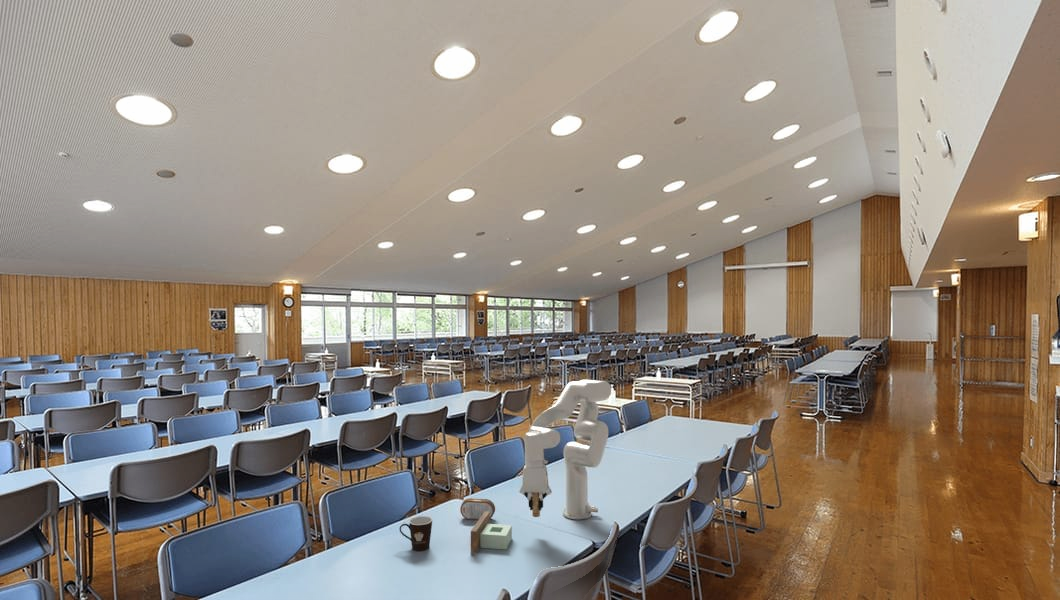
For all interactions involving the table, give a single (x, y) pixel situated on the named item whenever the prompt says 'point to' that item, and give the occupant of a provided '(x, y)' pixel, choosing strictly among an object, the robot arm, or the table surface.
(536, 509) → the dowel
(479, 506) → the tin
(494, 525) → the block
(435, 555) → the table surface
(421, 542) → the coffee mug
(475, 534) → the wall
